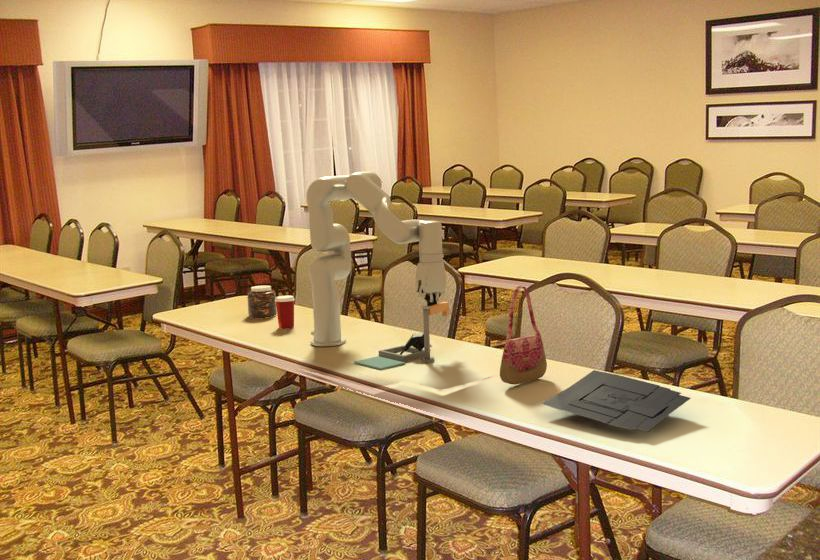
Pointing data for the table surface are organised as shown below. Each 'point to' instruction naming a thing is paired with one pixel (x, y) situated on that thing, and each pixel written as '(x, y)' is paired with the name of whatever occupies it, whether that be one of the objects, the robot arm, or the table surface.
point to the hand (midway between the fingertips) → (432, 313)
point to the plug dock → (416, 353)
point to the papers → (618, 400)
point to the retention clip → (438, 308)
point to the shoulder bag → (522, 351)
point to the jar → (261, 302)
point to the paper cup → (285, 311)
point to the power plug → (415, 342)
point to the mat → (379, 363)
